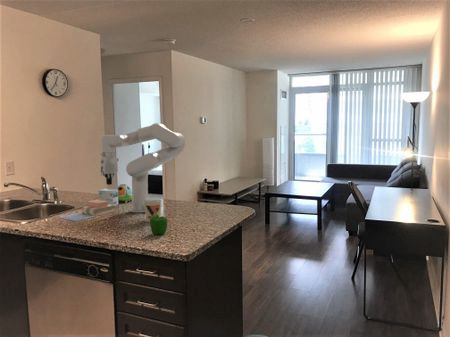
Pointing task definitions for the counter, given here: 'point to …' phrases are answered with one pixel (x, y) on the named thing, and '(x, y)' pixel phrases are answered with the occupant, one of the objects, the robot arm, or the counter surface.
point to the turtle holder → (124, 192)
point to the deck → (97, 210)
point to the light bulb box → (109, 196)
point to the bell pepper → (158, 224)
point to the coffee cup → (152, 207)
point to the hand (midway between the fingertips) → (109, 184)
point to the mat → (76, 217)
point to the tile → (97, 203)
